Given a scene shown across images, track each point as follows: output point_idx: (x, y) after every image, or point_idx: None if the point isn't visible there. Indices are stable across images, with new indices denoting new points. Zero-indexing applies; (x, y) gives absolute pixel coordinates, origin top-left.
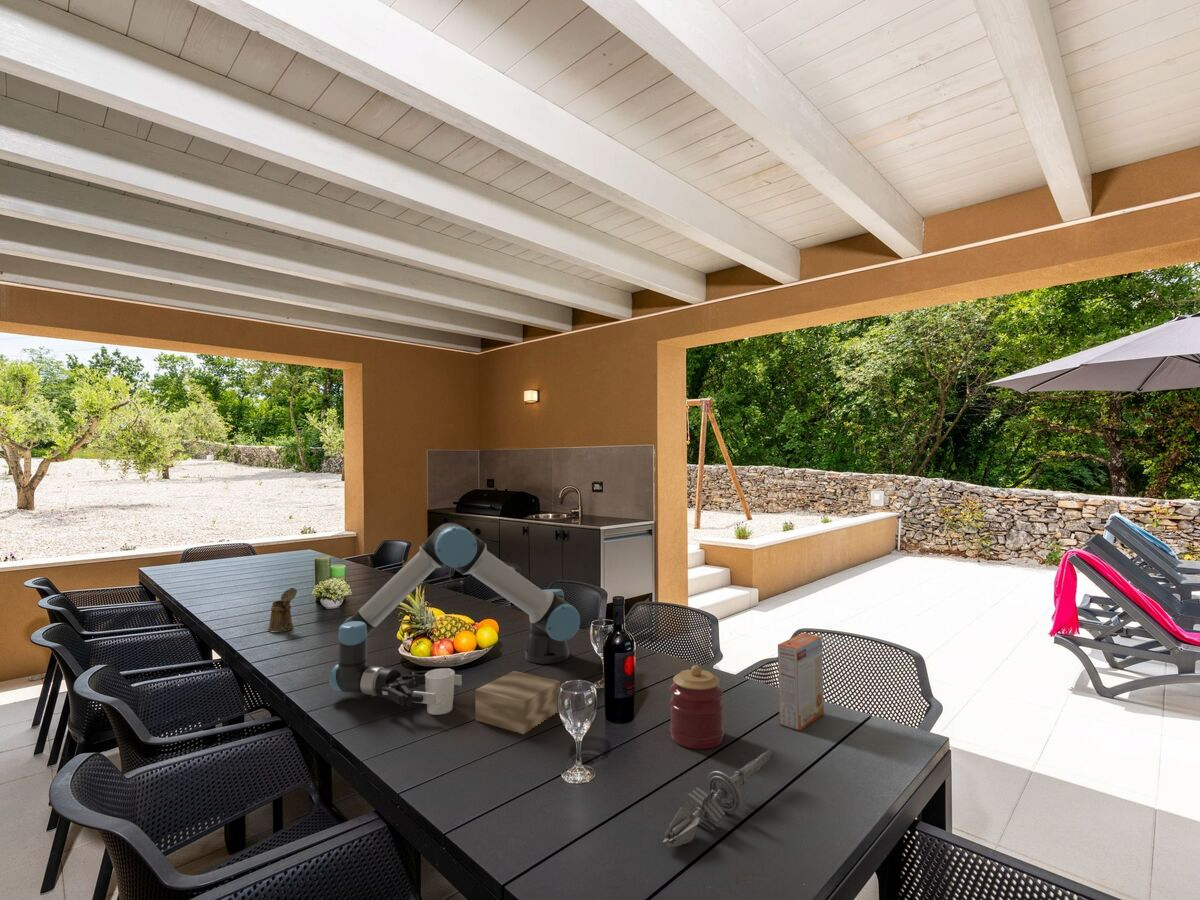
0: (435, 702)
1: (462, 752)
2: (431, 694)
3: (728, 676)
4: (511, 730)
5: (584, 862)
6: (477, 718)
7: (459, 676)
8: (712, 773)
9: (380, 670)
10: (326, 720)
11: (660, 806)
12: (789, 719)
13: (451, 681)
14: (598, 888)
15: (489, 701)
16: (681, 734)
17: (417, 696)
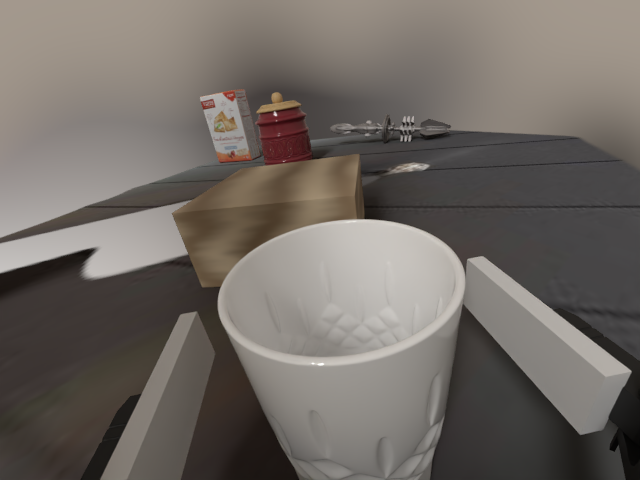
0: (467, 297)
1: (498, 225)
2: (494, 266)
3: (135, 189)
4: None
5: (503, 139)
6: None
7: (195, 319)
8: (385, 118)
9: None
10: None
11: (406, 147)
12: (254, 151)
13: (336, 252)
14: (512, 133)
15: (358, 199)
16: (309, 152)
17: (584, 330)
